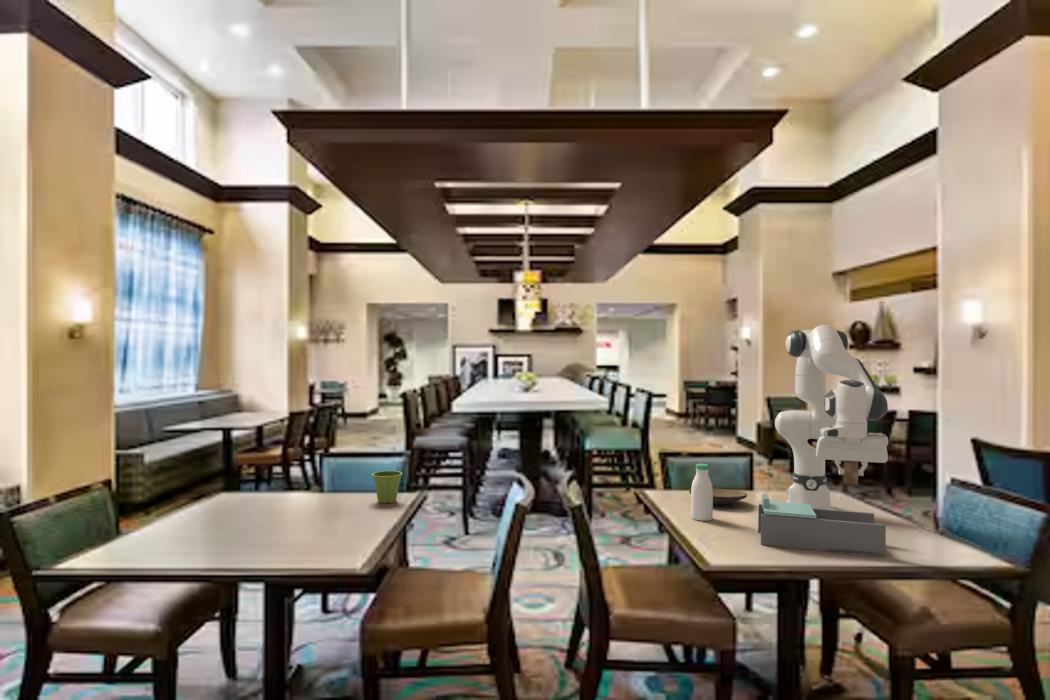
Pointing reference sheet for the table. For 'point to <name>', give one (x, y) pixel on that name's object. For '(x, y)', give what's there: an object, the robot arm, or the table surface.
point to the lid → (787, 508)
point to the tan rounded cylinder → (851, 472)
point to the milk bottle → (702, 494)
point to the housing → (824, 531)
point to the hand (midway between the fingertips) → (850, 475)
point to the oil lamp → (726, 496)
